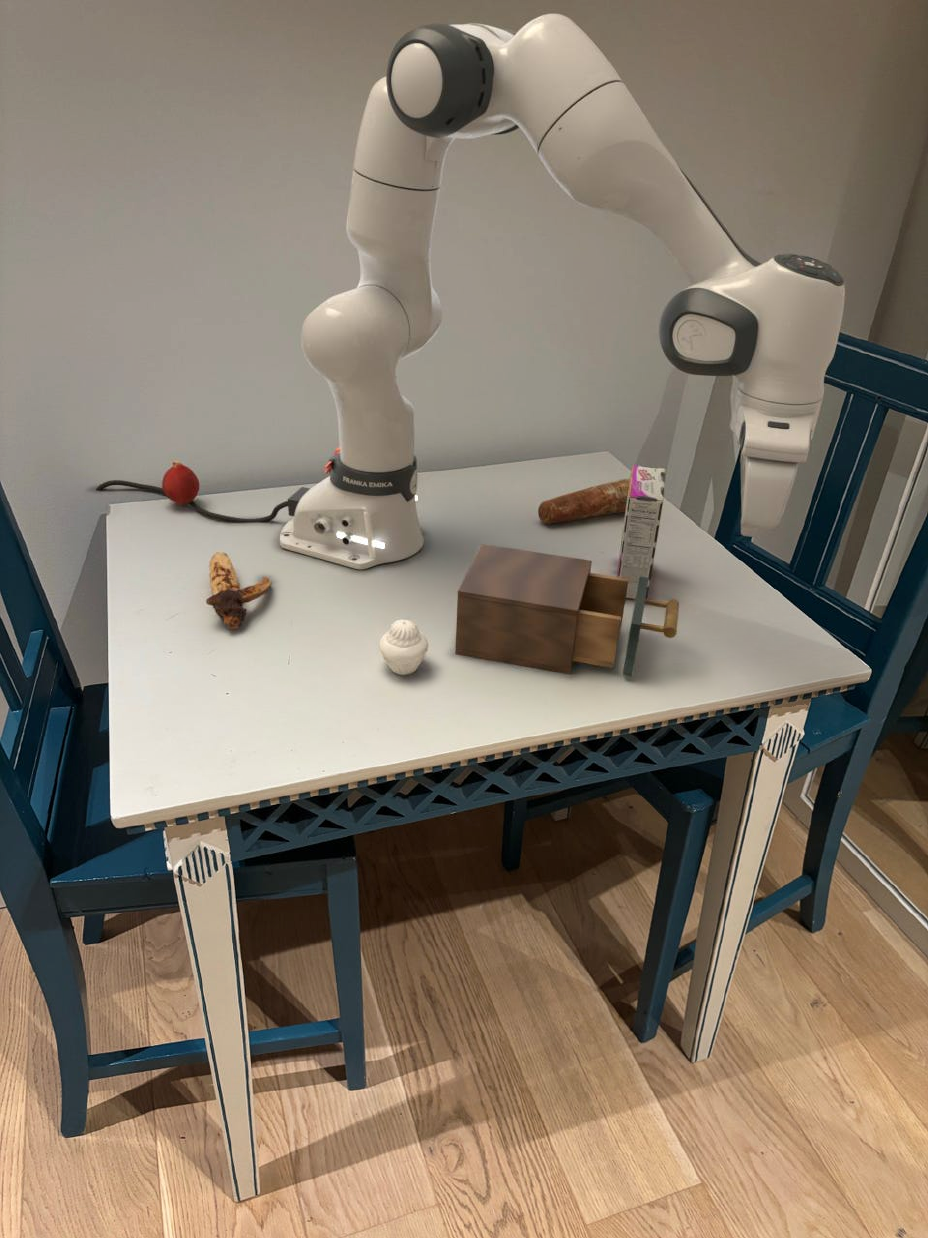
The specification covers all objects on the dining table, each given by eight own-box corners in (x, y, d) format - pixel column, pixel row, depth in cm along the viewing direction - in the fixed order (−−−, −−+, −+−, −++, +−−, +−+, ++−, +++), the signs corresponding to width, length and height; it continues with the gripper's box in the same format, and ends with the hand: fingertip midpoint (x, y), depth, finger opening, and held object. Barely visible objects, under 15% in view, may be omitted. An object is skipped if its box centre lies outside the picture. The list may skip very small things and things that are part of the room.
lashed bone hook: (282, 630, 120) (264, 563, 134) (280, 600, 117) (263, 535, 131) (210, 637, 117) (200, 569, 131) (207, 607, 114) (197, 541, 129)
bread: (644, 514, 153) (649, 484, 150) (546, 530, 147) (549, 500, 144) (625, 499, 158) (629, 470, 155) (528, 514, 151) (531, 484, 148)
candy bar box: (617, 562, 139) (632, 463, 130) (649, 566, 138) (666, 467, 129) (612, 598, 129) (628, 495, 120) (647, 603, 129) (665, 499, 120)
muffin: (397, 648, 117) (397, 603, 113) (437, 663, 114) (438, 617, 110) (369, 671, 112) (368, 625, 108) (410, 688, 109) (410, 641, 106)
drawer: (672, 632, 121) (682, 582, 116) (667, 683, 111) (678, 631, 107) (539, 610, 124) (544, 561, 120) (522, 657, 114) (527, 605, 110)
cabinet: (583, 620, 124) (591, 560, 119) (569, 674, 113) (578, 610, 108) (478, 603, 127) (481, 543, 122) (455, 653, 116) (457, 590, 111)
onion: (186, 495, 153) (180, 451, 148) (209, 504, 150) (203, 460, 146) (158, 506, 149) (151, 461, 144) (181, 516, 146) (174, 470, 142)
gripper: (743, 385, 106) (721, 491, 113) (745, 446, 89) (719, 567, 97) (798, 391, 105) (772, 498, 112) (810, 454, 88) (779, 576, 95)
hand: (747, 531), depth 104 cm, fingers closed
